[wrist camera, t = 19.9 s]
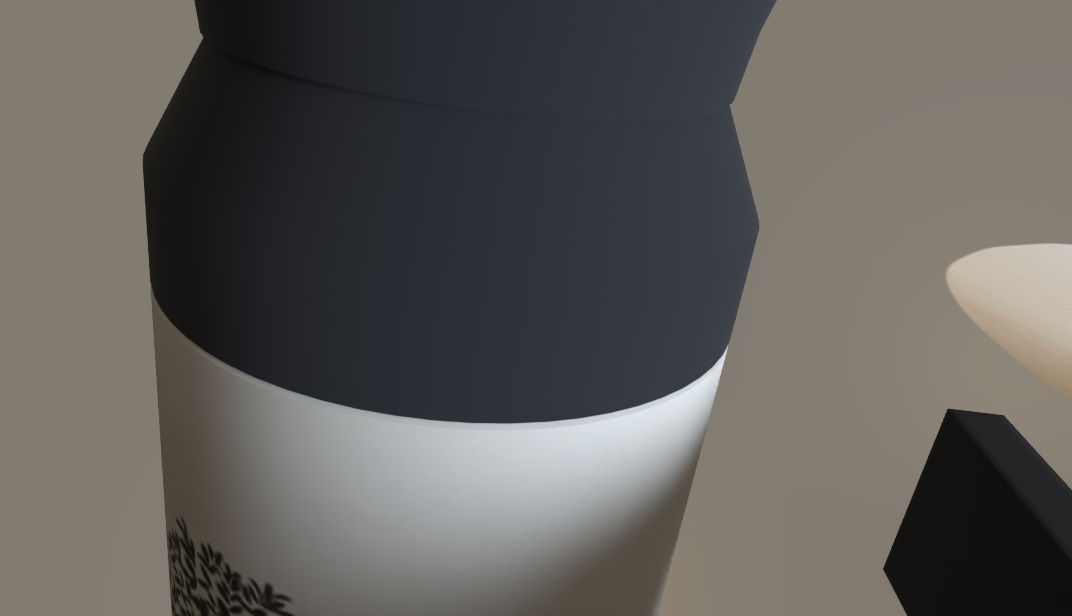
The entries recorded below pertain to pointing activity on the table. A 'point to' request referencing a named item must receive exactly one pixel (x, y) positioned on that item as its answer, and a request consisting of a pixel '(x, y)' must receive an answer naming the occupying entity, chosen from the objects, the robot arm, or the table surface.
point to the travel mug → (443, 300)
